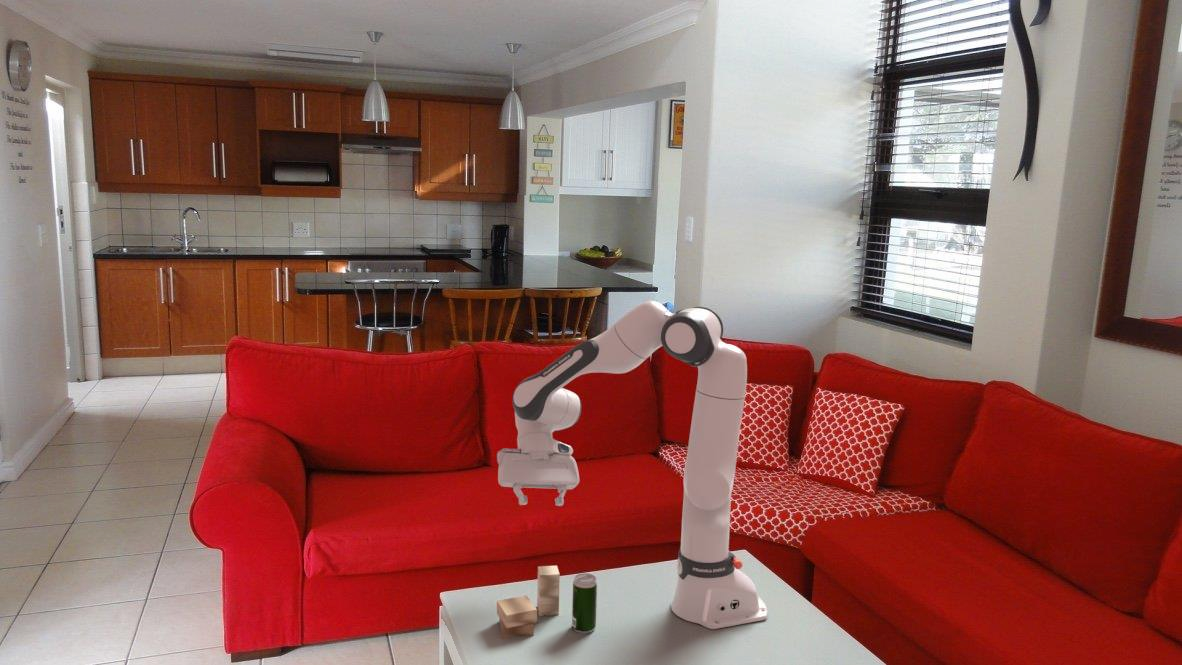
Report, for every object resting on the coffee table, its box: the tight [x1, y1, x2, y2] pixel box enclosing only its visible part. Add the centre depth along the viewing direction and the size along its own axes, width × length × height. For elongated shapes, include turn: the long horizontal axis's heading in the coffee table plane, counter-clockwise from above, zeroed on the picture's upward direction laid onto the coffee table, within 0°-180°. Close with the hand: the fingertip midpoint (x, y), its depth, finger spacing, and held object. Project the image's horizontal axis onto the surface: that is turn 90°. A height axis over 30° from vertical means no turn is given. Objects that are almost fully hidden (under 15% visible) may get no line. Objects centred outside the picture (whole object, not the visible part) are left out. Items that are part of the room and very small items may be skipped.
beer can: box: [571, 572, 598, 635], centre depth 187 cm, size 5×5×12 cm
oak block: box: [496, 594, 538, 628], centre depth 187 cm, size 7×7×3 cm
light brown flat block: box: [498, 616, 535, 639], centre depth 187 cm, size 7×7×3 cm
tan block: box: [536, 565, 560, 617], centre depth 195 cm, size 4×4×10 cm
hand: (541, 504), depth 199 cm, fingers open, 8 cm apart
